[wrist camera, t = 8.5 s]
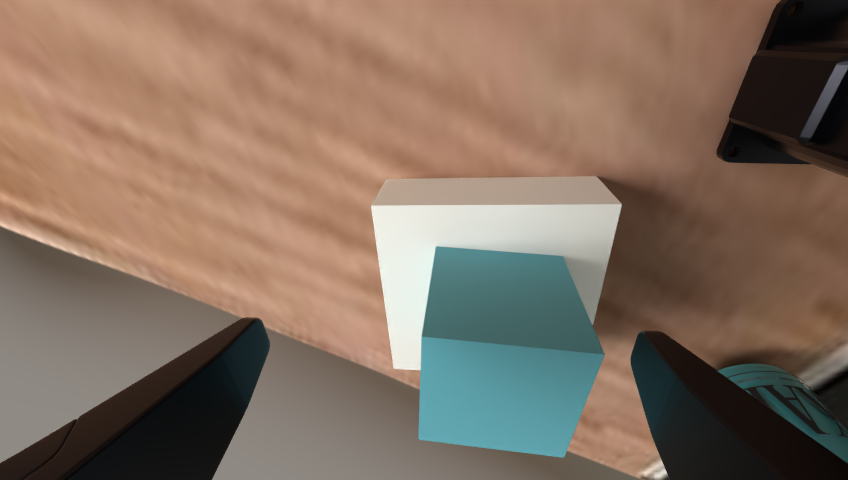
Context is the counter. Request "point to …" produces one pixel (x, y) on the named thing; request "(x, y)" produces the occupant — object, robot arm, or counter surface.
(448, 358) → the teal cube
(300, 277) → the counter surface
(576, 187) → the off-white block
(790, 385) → the beverage bottle
